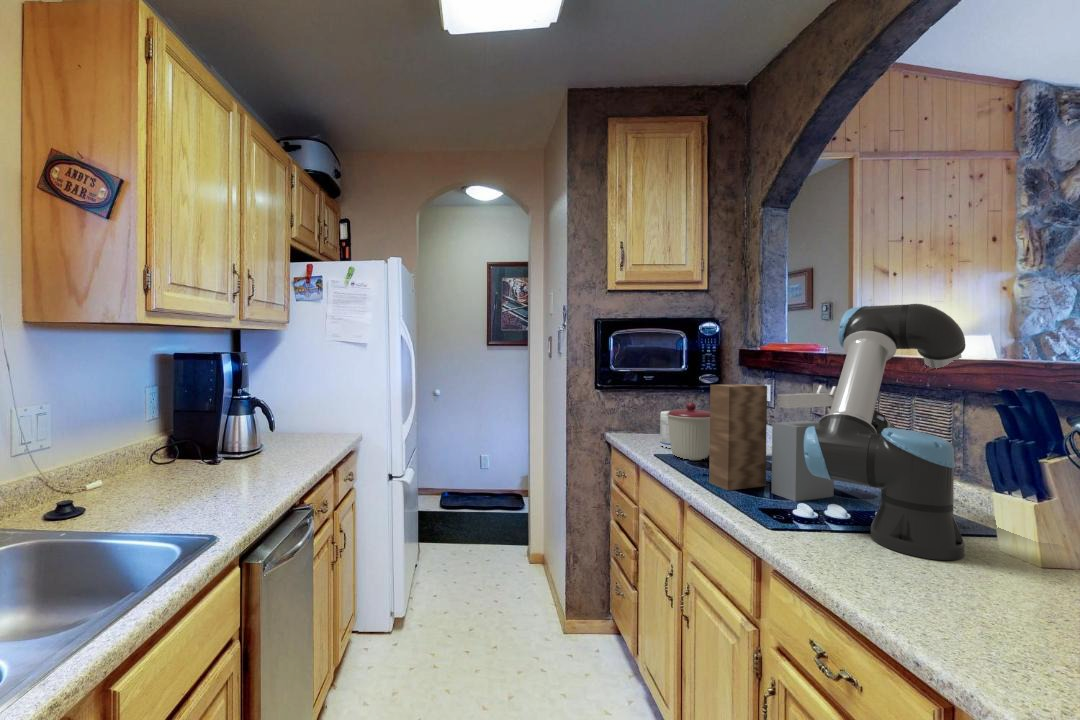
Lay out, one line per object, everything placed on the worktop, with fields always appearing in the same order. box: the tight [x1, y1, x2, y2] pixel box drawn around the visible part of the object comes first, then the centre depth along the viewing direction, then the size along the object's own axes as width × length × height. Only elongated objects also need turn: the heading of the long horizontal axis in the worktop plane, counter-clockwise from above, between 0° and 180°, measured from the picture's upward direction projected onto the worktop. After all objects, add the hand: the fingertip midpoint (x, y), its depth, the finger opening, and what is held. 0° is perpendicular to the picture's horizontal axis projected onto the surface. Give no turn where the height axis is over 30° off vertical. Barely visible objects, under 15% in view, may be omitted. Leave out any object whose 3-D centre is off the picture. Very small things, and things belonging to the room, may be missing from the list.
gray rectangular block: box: [770, 420, 835, 502], centre depth 131 cm, size 14×8×20 cm, turn 110°
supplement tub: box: [659, 410, 671, 446], centre depth 197 cm, size 10×10×15 cm
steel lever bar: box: [776, 391, 834, 409], centre depth 132 cm, size 25×4×4 cm, turn 110°
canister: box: [666, 401, 710, 461], centre depth 177 cm, size 18×18×21 cm
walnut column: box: [708, 383, 768, 491], centre depth 141 cm, size 14×8×30 cm, turn 110°
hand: (825, 389), depth 133 cm, fingers closed on steel lever bar, 3 cm apart
